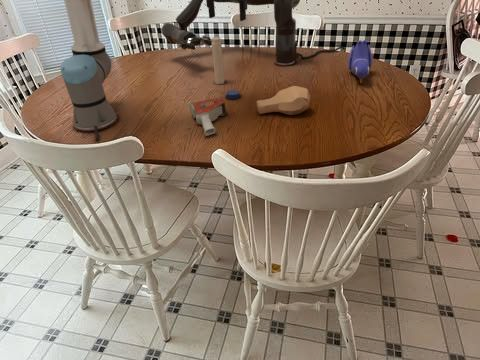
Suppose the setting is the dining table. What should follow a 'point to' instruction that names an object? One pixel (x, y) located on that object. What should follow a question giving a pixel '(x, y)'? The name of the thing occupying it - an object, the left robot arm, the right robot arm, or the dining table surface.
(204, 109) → the tape dispenser
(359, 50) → the toy
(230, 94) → the lid
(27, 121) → the dining table surface
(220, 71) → the cream plastic cylinder
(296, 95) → the squash
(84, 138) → the dining table surface
